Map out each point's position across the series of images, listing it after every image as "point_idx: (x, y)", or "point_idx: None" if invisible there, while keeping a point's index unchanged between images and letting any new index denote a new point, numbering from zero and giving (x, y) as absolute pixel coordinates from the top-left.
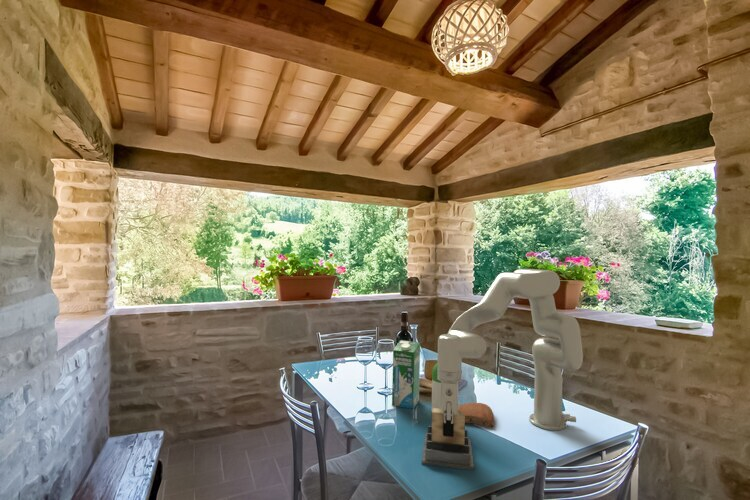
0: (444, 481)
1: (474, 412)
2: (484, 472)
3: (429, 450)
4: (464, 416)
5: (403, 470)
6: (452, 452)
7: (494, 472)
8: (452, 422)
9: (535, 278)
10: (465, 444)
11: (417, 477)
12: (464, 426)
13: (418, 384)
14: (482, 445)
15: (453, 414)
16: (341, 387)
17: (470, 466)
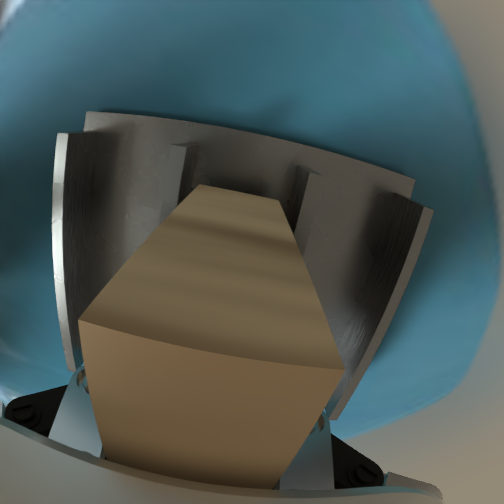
0: (445, 321)
1: None
2: (423, 129)
3: (343, 407)
4: (334, 357)
5: (354, 427)
6: (389, 313)
7: (422, 79)
8: (326, 430)
9: None
10: (192, 165)
11: (400, 395)
12: (300, 261)
13: None
14: (135, 45)
15: (273, 485)
16: None
17: (410, 197)
